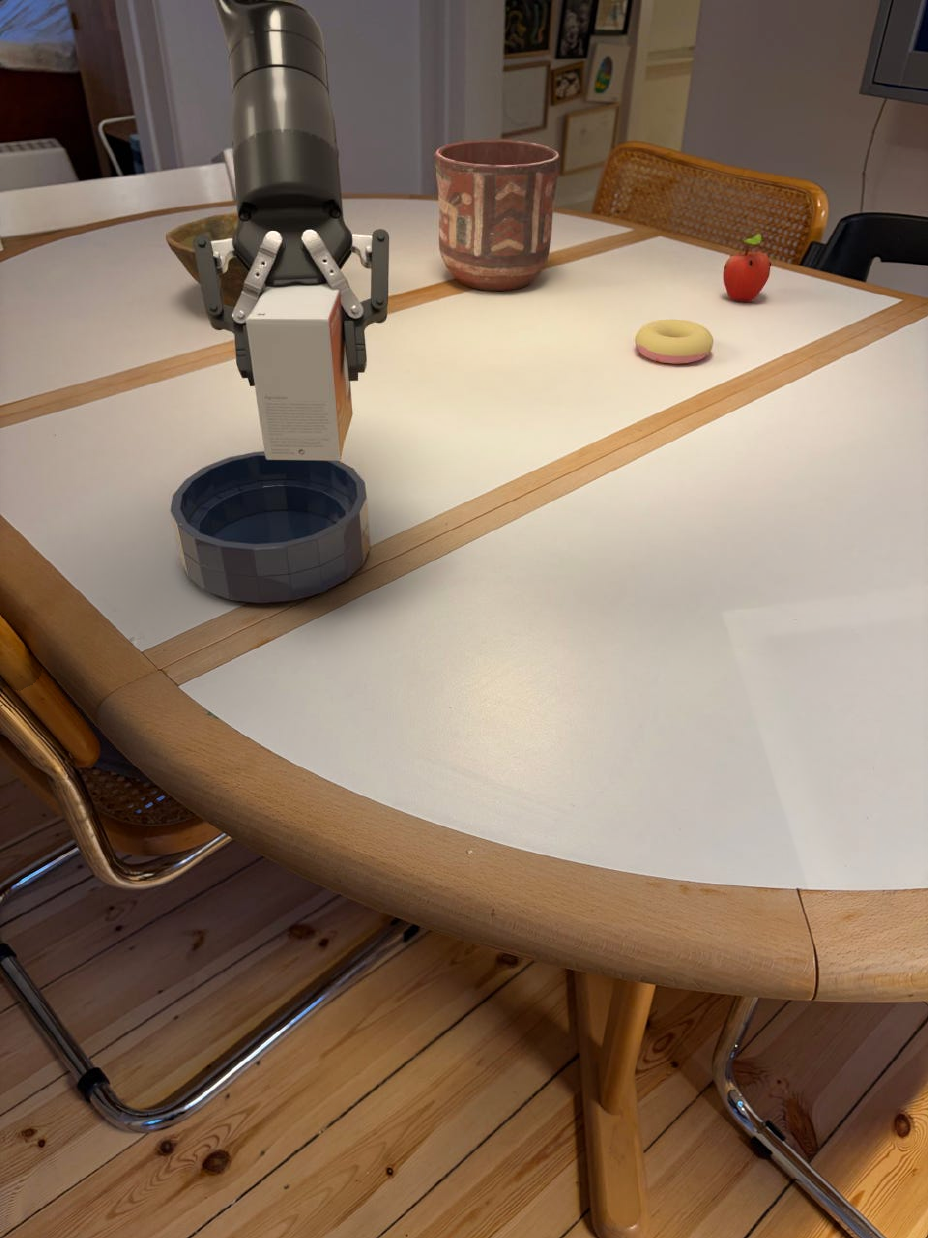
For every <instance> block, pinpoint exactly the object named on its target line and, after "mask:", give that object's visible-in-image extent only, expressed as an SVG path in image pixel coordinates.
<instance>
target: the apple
mask: <svg viewBox="0 0 928 1238" xmlns="http://www.w3.org/2000/svg"><path fill="white" fill-rule="evenodd" d="M761 241H762V234H761V233H757V234H756V235H754V236H753V237H751V238H745V239H744V240H743V243H745V252H739V253H737V254H731V255H730V256H729V257H728V258H727V260H726V262H725V264H724V266H723V273H722V274H723V275H722V276H723V284H724V288H725V291H726V294H727V296H728V297H729V299H730V300H732V301H734V302H744V303H749V302H752V301H753V300H755V299H756V297H757V296H758V295H759V294H760V292H761V291H762V290H763V289H764V287H765V286H766V284H767V282H768V280H769V278H770V274H771V267H772V262H771V261H770V259H769V257H768V255H766V253H764V252H761V251H749V250H750V248H751V245H757V244H761Z"/></svg>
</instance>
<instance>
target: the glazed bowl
mask: <svg viewBox="0 0 928 1238" xmlns="http://www.w3.org/2000/svg"><path fill="white" fill-rule="evenodd" d="M367 495H368V494H367V487H366V482H365V480H364V479H363V478H362V477H361V476H360V475H359V473H358V471H356V470H355V468H353V467H351V466H349V465H347V464H345V463H344V462H342V461H341V460H338V461H331V460H267V459H266V458H265V452H264V450H262V451H253V452H248V453H243V454H238V455H234V456H229V457H226V458H224V459H221V460H219V461H216V462H214V463H211V464H208V465H206V466H204V467H202V468H201V469H199V470H197V471H196V472H195V473H193V474H192V475H190V476H189V477H186V479H184V480H183V481H182V483H181V484H180V485H179V487H178V488H177V489H176V491H175V492H174V493H173V495H172V499H171V505H170V510H169V511H170V516H171V520H172V524H173V529H174V534H175V539H176V542H177V543H176V544H177V549H178V554H179V557H180V558H179V559H180V562H181V564H182V567H183V569H184V572H185V573H186V575H187V578H188V579H189V580H191V581H192V582H193V583H194V584H196V585H197V586H198V587H199V588H201V589H202V590H204V591H205V592H207V593H210V594H212V595H215V596H218V597H220V598H224V599H226V600H229V601H236V602H237V601H238V602H245V603H247V602H248V603H255V604H268V603H279V602H291V601H296V600H301V599H304V598H308V597H311V596H314V595H318V594H322V593H324V592H326V591H328V590H330V589H332V588H334V587H335V586H337V585H339V584H341V583H343V582H345V581H347V580H348V579H349V578H351V576H352V575H353V574H354V573H355V572H357V571H358V570H359V569H360V568H361V567H362V566H363V565H364V563H365V560H366V558H367V555H368V553H369V551H370V550H371V543H370V541H371V540H370V524H369V509H368V507H369V506H368V496H367Z"/></svg>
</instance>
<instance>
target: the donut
mask: <svg viewBox="0 0 928 1238" xmlns="http://www.w3.org/2000/svg"><path fill="white" fill-rule="evenodd" d="M634 340H635V341H634V342H635V347H636V349H637V351H638V352H639V353H640V354H641V355H643V356H644V357H645V358H647V359H649V360H651V361H655V362H659V363H664V364H673V365H674V364H675V365H676V364H677V365H678V364H690V363H695V362H698V361H700V360H702V359H704V358H706V357H707V356H708V355H709V354H710V352H711V351H712V349H713V346H714V337H713V335H712V333H711V331H710V330H709V329H708V328H707V327H705V326H704V325H701V324H699V323H697V322H693V321H689V320H685V319H684V320H683V319H660V320H659V319H658V320H654V321H650V322H648V323H646V324H645V325H643V326H642V327H640V328H639V330H638V331H637V333H636V335H635V338H634Z"/></svg>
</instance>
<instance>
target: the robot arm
mask: <svg viewBox="0 0 928 1238" xmlns="http://www.w3.org/2000/svg"><path fill="white" fill-rule="evenodd" d="M211 1H212V3H213V4H212V5H213V7H214V9H215V12H216V15H217V19H218V21H219V24H220V27H221V31H222V34H223V37H224V40H225V44H226V47H227V51H228V63H229V74H230V87H231V88H230V90H231V114H230V135H231V136H230V137H231V148H232V152H231V153H232V161H233V162H232V163H233V175H234V177H233V178H234V188H235V189H234V190H235V202H236V203H235V204H236V212H237V217H238V224H237V228H236V230H235V232H234V234H233V237H232V238H231V239H223V240H215V241H210V239H209V237H207V236H206V235H198V236H196V237H195V238H194V240H193V246H194V251H195V256H196V262H197V267H198V273H199V278H200V284H201V285H200V284H199V285H200V288H201V294H202V299H203V305H204V309H205V313H206V316H207V317H208V321H209V324H210V326H211V328H213V329H214V330H215V331H223V330H225V331H228V332H231V333H232V334H233V336H234V350H235V351H234V353H235V363H236V366H237V371H238V373H239V375H240V377H241V379H247V382H248V383H249V386H250V387H255V382H254V375H253V368H252V360H251V353H250V346H249V339H248V332H247V325H246V319H247V317H248V316H249V315H250V313H251V312H252V310H253V309H254V307H255V305H256V304H257V302H258V300H259V298H260V297H261V295H262V293H263V292H264V289H265V288H266V287H285V286H291V285H319V284H325V283H327V285H328V286H329V287H330V288H331V289H332V290H340V291H341V306H342V309H343V311H344V312H345V321H344V335H345V347H346V359H347V370H348V381H350V382H358V381H359V374H362V373H363V374H364V373H366V369H367V366H368V358H367V357H368V356H367V345H366V335H365V330H366V328H367V327H368V326H371V325H374V324H383V323H385V322H386V321H387V319H388V307H389V277H390V275H389V272H390V270H389V269H390V235H389V232H388V231H387V230H385V229H382V228H380V229H376V230H374V231H373V232H372V235H367V234H353V233H352V232H351V230H350V229H349V227H348V226H347V224H346V222H345V218H344V207H343V196H342V195H343V194H342V185H341V183H342V182H341V174H340V163H339V159H340V151H339V147H338V140H337V139H338V138H337V129H336V122H335V117H334V114H333V110H332V105H331V100H330V88H329V87H330V86H329V75H328V64H327V55H326V54H327V53H326V46H325V45H326V44H325V40H324V36H323V32H322V30H321V27H320V25H319V24H318V21H317V20H316V19H315V17H314V16H313V15H312V14H311V13H310V12H309V11H308V10H306V9H305V8H303V7H302V6H300V5H298V4H295V3H294V2H296V1H297V0H211ZM352 253H353V254H356V255H357V257H359V260H360V264H361V266H362V267H364V268H365V269H368V270H370V272H371V273H370V275H371V276H370V298H368V299H365V300H363V301H360V300H359V299H358V297H357V296H356V295H355V293H354V291H353V290H352V288H351V287H350V285H349V281H348V279H347V277H346V276H345V274H344V273H343V271H342V269H343V267H344V266H345V264H346V263H347V261H348V260H349V258H351V257H350V256H351V255H352ZM233 257H236V258H237V259H238V260H239V261H240V262H241V264H242V265H243V266H244V267H245V268H246V269H247V270H248V272H249V273H248V276H247V278H246V280H245V282H244V285H243V291H242V293H241V295H240V298H239V300H238V302H237V304H236V306H235V308H234V307H231V306H227V305H224V300H223V295H222V289H221V284H220V279H219V274H223V273H225V272H226V271H227V269H228V262H229V260H230V259H231V258H233Z"/></svg>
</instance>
